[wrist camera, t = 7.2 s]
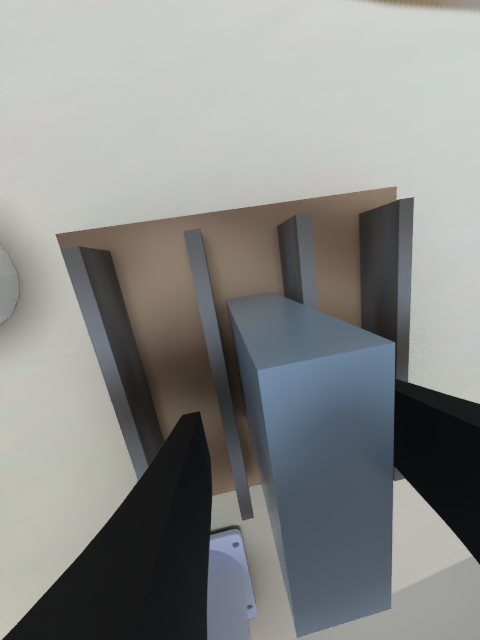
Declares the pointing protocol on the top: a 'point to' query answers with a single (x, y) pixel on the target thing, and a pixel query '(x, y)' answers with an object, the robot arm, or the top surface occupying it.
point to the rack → (212, 314)
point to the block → (321, 453)
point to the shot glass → (7, 286)
